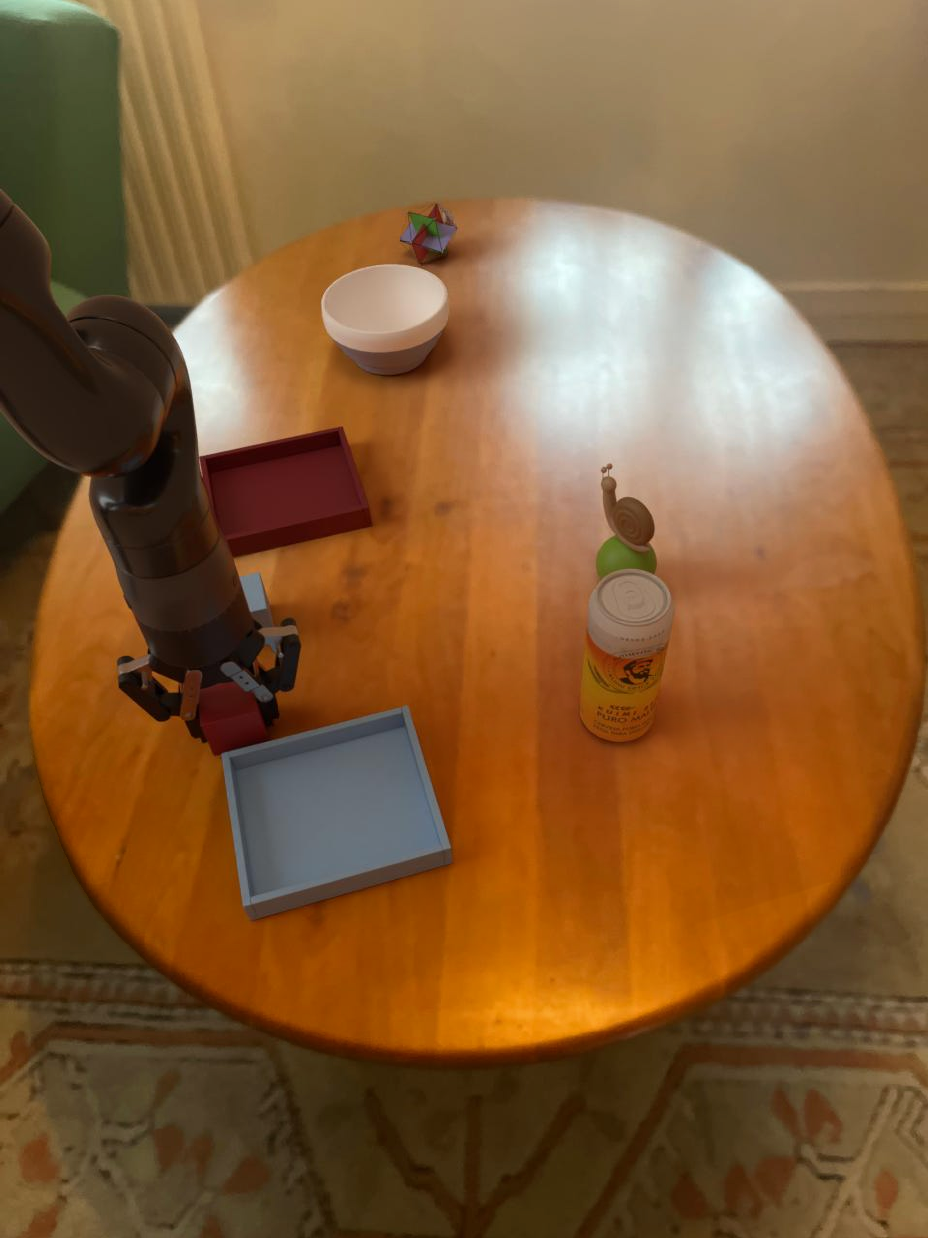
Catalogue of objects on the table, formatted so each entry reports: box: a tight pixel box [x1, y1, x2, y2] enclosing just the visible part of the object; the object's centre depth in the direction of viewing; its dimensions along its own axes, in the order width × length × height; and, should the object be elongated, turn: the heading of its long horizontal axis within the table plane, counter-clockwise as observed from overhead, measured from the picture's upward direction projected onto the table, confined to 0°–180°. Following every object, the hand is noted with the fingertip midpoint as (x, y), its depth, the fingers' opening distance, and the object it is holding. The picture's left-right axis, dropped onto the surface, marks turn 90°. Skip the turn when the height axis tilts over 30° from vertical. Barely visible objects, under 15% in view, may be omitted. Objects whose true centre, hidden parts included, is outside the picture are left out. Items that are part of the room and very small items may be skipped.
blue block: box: [239, 571, 275, 628], centre depth 85 cm, size 4×4×4 cm
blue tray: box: [220, 704, 454, 921], centre depth 73 cm, size 15×13×2 cm
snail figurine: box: [595, 462, 658, 581], centre depth 84 cm, size 5×6×12 cm
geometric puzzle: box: [398, 202, 459, 266], centre depth 124 cm, size 7×7×8 cm
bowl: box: [320, 263, 450, 376], centre depth 110 cm, size 14×14×8 cm
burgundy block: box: [198, 681, 270, 757], centre depth 77 cm, size 4×4×4 cm
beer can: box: [578, 569, 676, 743], centre depth 73 cm, size 6×6×15 cm
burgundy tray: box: [199, 425, 373, 558], centre depth 96 cm, size 15×13×2 cm
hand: (237, 725), depth 78 cm, fingers closed on burgundy block, 4 cm apart
